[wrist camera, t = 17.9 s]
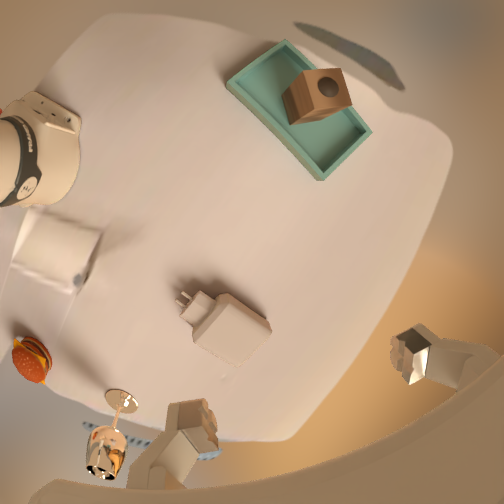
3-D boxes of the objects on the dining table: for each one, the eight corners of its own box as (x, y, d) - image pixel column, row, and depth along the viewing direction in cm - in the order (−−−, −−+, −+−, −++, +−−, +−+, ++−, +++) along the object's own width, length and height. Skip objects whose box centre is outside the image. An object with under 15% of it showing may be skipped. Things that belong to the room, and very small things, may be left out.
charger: (197, 268, 43) (267, 319, 47) (164, 309, 44) (234, 354, 48) (195, 279, 38) (273, 333, 42) (160, 323, 39) (236, 370, 43)
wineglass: (144, 412, 49) (130, 485, 30) (115, 413, 49) (95, 481, 30) (129, 387, 47) (106, 463, 28) (99, 389, 47) (71, 459, 28)
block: (289, 125, 38) (315, 108, 27) (281, 95, 36) (303, 70, 26) (319, 120, 38) (352, 104, 27) (311, 91, 37) (341, 67, 26)
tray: (225, 88, 36) (226, 81, 33) (280, 46, 35) (285, 38, 32) (316, 180, 41) (323, 180, 38) (363, 134, 40) (372, 132, 37)
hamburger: (22, 358, 43) (9, 373, 36) (21, 328, 41) (6, 343, 35) (53, 377, 45) (42, 395, 39) (54, 348, 43) (41, 366, 37)
